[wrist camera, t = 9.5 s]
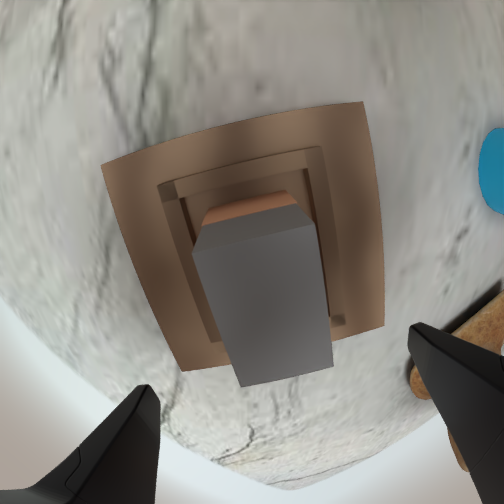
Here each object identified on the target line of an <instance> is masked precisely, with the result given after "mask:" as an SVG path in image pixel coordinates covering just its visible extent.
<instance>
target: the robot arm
mask: <svg viewBox="0 0 504 504" xmlns="http://www.w3.org/2000/svg"><path fill="white" fill-rule="evenodd" d="M408 349H409V352H410V354H411V356H412V358H413V361H414V363H415V365H416V368H417V370H418V372H419V375H420V377H421V379H422V381H423V384H424V385H425V387H426V389H427V391H428V393H429V394H430V396H431V398H432V400H433V402H434V403H435V405H436V407H437V409H438V411H439V413H440V414H441V416H442V418H443V420H444V422H445V424H446V426H447V428H448V430H449V432H450V434H451V435H452V437H453V439H454V441H455V443H456V445H457V447H458V450H459V452H460V454H461V456H462V458H463V460H464V462H465V464H466V466H467V468H468V471H469V472H470V475H471V478H472V480H473V482H474V484H475V487H476V489H477V491H478V494H479V496H480V498H481V501H482V503H483V504H504V356H502V355H500V356H499V354H497V353H495V352H492V351H490V350H487V349H485V348H482V347H480V346H478V345H475V344H473V343H470V342H468V341H466V340H463V339H461V338H458V337H456V336H453V335H451V334H449V333H446V332H444V331H441V330H439V329H436V328H434V327H432V326H429V325H427V324H424V323H422V322H418V323H416V324H413V325H411V326H410V327H409V334H408ZM160 411H161V404H160V400H159V398H158V397H157V395H156V394H155V392H154V390H153V389H152V387H151V386H150V385H148V384H145V385H138V386H137V387H136V388H135V389H134V390H133V391H132V392H131V393H130V394H129V395H128V396H127V397H126V398H125V399H124V400H123V401H122V402H121V403H120V404H119V405H118V406H117V407H116V408H115V409H114V410H113V411H112V412H111V414H110V415H109V416H108V417H107V418H106V419H105V420H104V421H103V422H102V423H101V424H100V425H99V426H98V427H97V428H96V429H95V430H94V431H93V432H92V433H91V434H90V435H89V436H88V437H87V438H86V439H85V440H84V441H83V442H82V443H81V444H80V445H79V447H77V448H76V449H75V450H74V451H73V452H72V453H71V454H70V455H69V456H68V457H67V458H66V459H65V460H64V461H63V462H61V463H60V464H59V465H58V466H57V467H56V468H54V469H53V470H52V471H51V472H50V473H48V474H47V475H46V476H45V477H44V478H42V479H41V480H40V481H38V482H37V483H36V484H34V485H33V486H31V487H28V488H25V489H17V490H0V504H155V491H156V478H157V468H158V458H159V449H160Z"/></svg>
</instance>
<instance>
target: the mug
mask: <svg viewBox="0 0 504 504" xmlns="http://www.w3.org/2000/svg"><path fill="white" fill-rule="evenodd" d="M478 171H479V184H480V187H481V191H482V195H483V197H484V199H485V201H486V203H487V205H488V206H489V207H490V208H492V209H493V210H494V211H496V212H499V213H501V214H503V215H504V128H496V129H494V130H493V131H491V132H490V133H489V134H488V135H487V137H486V139H485V140H484V142H483V145H482V149H481V152H480V156H479V167H478Z"/></svg>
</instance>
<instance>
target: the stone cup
mask: <svg viewBox="0 0 504 504" xmlns="http://www.w3.org/2000/svg"><path fill="white" fill-rule="evenodd" d="M451 335H453V336H456V337H458V338H461V339H463V340H466V341H468V342H470V343H473V344H475V345H478V346H480V347H482V348H485V349H487V350H490V351H492V352H495V353H497V354H499V356H500V355H501V347H502V345H503V344H504V290H503V291H502V292H501V293H499V294H498V295H497V296H496V297H495V298H494V299H493V300H492V301H490V302H489V303H488V304H487V305H486V306H484V307H483V308H482V309H481V310H480V311H479V312H477V313H476V314H475V315H474V316H472V317H471V318H470V319H469V320H467V321H466V322H465V323H464V324H463V325H461V326H460V327H459V328H458V329H457V330H455V331H454V332H453V333H452V334H451ZM410 387H411V390H412V392H413V393H414V395H415V396H416V397H418V398H420V399H425V400H427V399H431V396H430V394H429V393H428V391H427V389H426V387H425V385H424V384H423V381H422V379H421V377H420V375H419V372H418V370H417V368H416V365H414V367H413V369H412V370H411V373H410ZM447 429H448V428H447ZM448 436H449V440H450V443H451V446H452V449H453V451H454V454H455V456H456V459H457V461H458V463H459V465H460V467H461V468H462V469H463V470H464V471H466V472H469V471H468V468H467V466H466V464H465V462H464V460H463V458H462V456H461V454H460V452H459V450H458V447H457V445H456V443H455V441H454V439H453V437H452V435H451V434H450V432H449V430H448Z"/></svg>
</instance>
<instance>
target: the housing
mask: <svg viewBox="0 0 504 504" xmlns="http://www.w3.org/2000/svg"><path fill="white" fill-rule="evenodd" d="M201 226H202V229H201V231H200V233H199V236H198V238H197V241H196V243H195V246H194V248H193V251H192V256H193V259H194V262H195V265H196V268H197V271H198V274H199V277H200V280H201V283H202V286H203V289H204V292H205V294H206V297H207V300H208V303H209V306H210V308H211V311H212V314H213V317H214V319H215V322H216V325H217V327H218V330H219V333H220V335H221V338H222V341H223V343H224V346H225V349H226V351H227V354H228V356H229V359H230V361H231V364H232V366H233V369H234V371H235V374H236V376H237V379H238V381H239V384H240V386H241V387H246V386H252V385H257V384H262V383H267V382H272V381H277V380H281V379H286V378H290V377H294V376H299V375H303V374H307V373H311V372H315V371H318V370H322V369H326V368H330V367H333V366H334V364H333V353H332V343H331V334H330V325H329V316H328V308H327V300H326V293H325V285H324V278H323V271H322V265H321V258H320V252H319V245H318V239H317V233H316V227H315V223H314V222H313V221H312V220H311V219H310V218H309V217H308V216H307V215H306V213H305V212H304V211H303V210H302V209H301V208H300V207H299V206H298V205H297V201H296V200H295V199H294V198H293V197H292V196H291V195H290V194H289V193H288V192H287V191H286V190H282V191H277V192H273V193H269V194H264V195H260V196H256V197H252V198H248V199H244V200H240V201H236V202H232V203H228V204H224V205H220V206H216V207H212V208H208V211H207V213H206V215H205V218H204V220H203V222H202V225H201Z"/></svg>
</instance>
